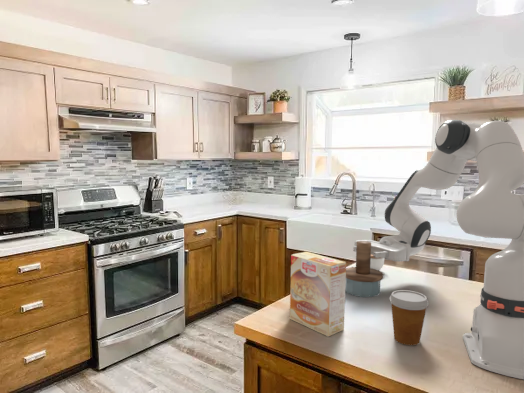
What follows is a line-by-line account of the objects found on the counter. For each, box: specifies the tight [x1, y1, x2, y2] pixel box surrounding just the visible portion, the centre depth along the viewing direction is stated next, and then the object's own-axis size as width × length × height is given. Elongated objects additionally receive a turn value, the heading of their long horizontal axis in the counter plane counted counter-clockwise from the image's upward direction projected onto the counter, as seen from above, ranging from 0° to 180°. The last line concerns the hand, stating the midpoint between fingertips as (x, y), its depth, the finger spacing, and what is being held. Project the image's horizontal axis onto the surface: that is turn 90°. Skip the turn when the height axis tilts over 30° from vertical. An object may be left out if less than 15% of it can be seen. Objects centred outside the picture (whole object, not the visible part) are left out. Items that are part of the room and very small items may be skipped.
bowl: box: [345, 278, 382, 298], centre depth 138 cm, size 12×12×6 cm
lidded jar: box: [370, 255, 386, 271], centre depth 163 cm, size 11×11×9 cm
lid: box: [346, 241, 384, 282], centre depth 137 cm, size 14×14×12 cm
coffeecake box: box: [289, 251, 347, 337], centre depth 109 cm, size 15×7×20 cm, turn 40°
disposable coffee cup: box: [389, 289, 429, 346], centre depth 101 cm, size 10×10×12 cm
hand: (364, 252), depth 137 cm, fingers open, 8 cm apart
